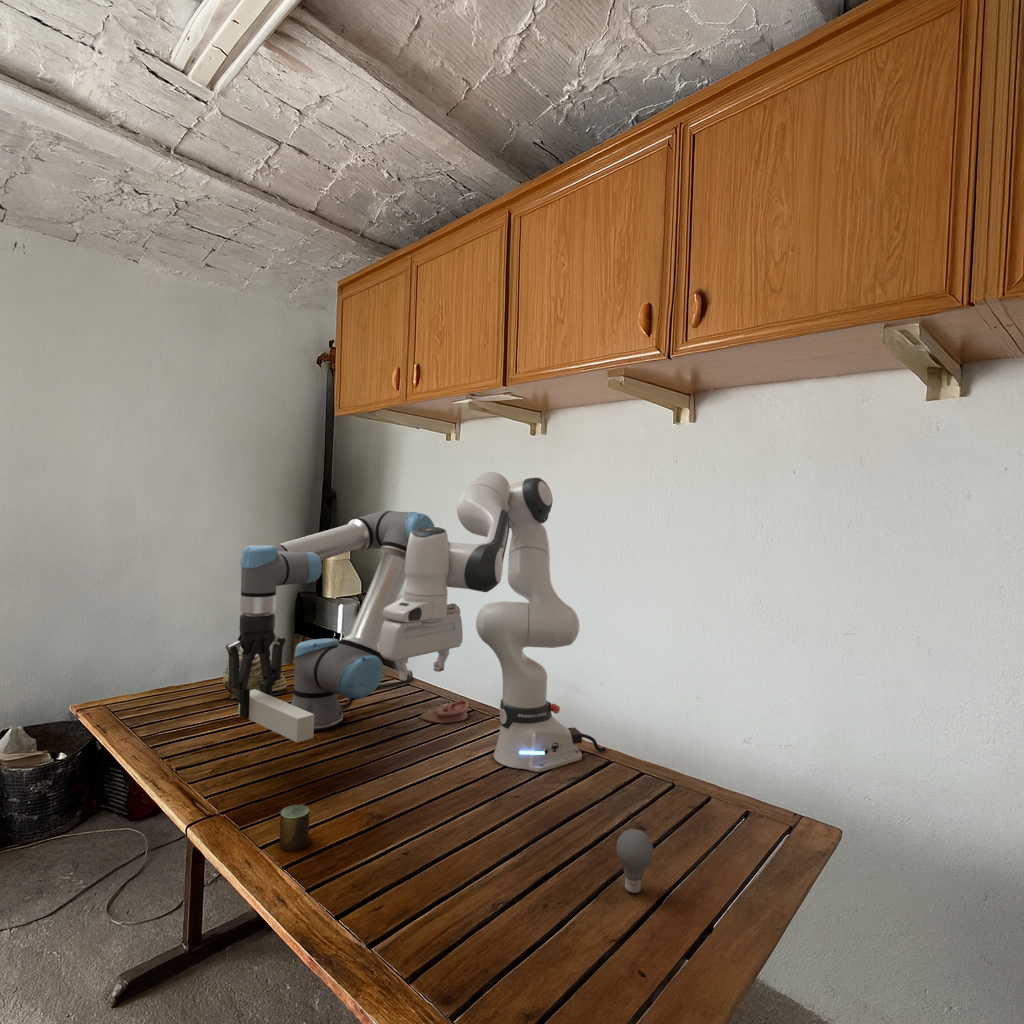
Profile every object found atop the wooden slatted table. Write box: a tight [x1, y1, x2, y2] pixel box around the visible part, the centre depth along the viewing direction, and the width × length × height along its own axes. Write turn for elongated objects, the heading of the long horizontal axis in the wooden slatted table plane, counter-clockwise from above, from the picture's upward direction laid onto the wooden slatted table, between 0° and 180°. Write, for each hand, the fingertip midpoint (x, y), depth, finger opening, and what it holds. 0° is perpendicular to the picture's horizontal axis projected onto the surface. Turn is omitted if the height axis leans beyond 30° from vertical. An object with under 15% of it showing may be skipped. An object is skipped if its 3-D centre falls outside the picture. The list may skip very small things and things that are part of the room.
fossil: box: [222, 646, 288, 699], centre depth 198 cm, size 9×18×15 cm, turn 132°
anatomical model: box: [419, 699, 469, 724], centre depth 185 cm, size 13×4×12 cm
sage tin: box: [278, 804, 310, 852], centre depth 116 cm, size 5×5×6 cm
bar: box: [237, 689, 315, 743], centre depth 140 cm, size 4×24×5 cm, turn 51°
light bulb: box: [615, 828, 654, 894], centre depth 106 cm, size 6×6×10 cm
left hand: (254, 714), depth 146 cm, fingers closed on bar, 4 cm apart
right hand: (422, 675), depth 129 cm, fingers open, 8 cm apart
